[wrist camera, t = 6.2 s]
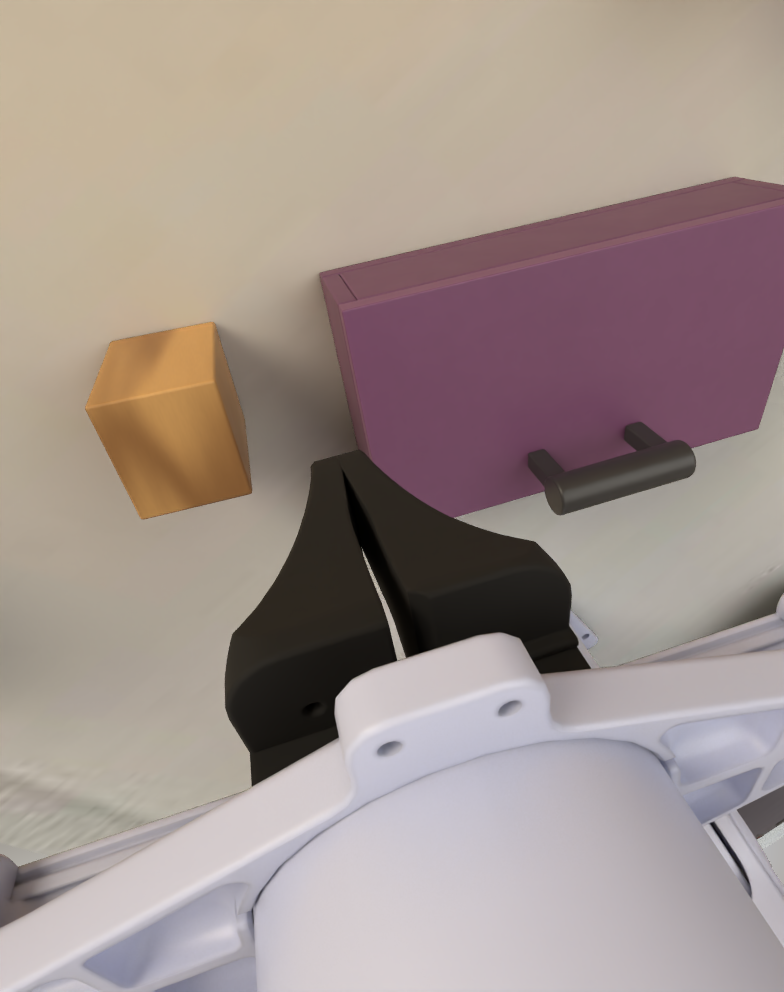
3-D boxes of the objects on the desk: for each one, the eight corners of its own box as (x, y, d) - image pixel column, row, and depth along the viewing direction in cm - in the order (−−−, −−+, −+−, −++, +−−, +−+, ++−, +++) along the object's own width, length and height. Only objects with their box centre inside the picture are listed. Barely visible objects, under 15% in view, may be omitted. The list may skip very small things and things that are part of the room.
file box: (693, 373, 26) (752, 408, 23) (361, 464, 24) (381, 514, 21) (734, 176, 21) (816, 189, 18) (318, 272, 19) (337, 304, 16)
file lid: (747, 422, 24) (820, 467, 21) (384, 527, 22) (409, 593, 19) (817, 190, 18) (928, 209, 15) (337, 304, 16) (364, 350, 13)
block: (253, 494, 18) (140, 521, 17) (245, 421, 22) (153, 441, 21) (215, 379, 15) (82, 407, 15) (214, 320, 19) (109, 340, 19)
